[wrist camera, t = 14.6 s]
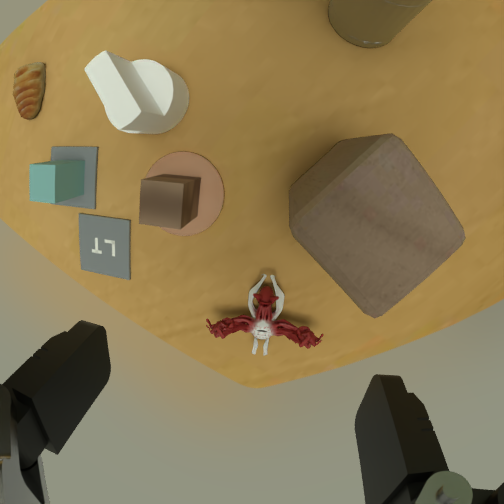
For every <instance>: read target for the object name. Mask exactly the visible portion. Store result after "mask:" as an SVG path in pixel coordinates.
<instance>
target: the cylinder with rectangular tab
mask: <svg viewBox="0 0 504 504" xmlns="http://www.w3.org/2000/svg"><path fill="white" fill-rule="evenodd" d="M85 71H86V73H87V75H88V77H89V79H90V81H91V82H92V84H93V86H94V88H95V90H96V92H97V93H98V95H99V97H100V99H101V101H102V102H103V104H104V106H105V111H106V114H107V116H108V119H109V120H110V121H111V123H112V124H113V125H114V126H115V127H116V128H117V129H118V130H121V131H124V132H127V133H141V134H160V133H164V132H167V131H169V130H170V129H172V128H174V127H175V126H176V125H177V124H178V123H179V122H180V121H181V120H182V118H183V117H184V115H185V113H186V111H187V108H188V104H189V92H188V88H187V85H186V83H185V81H184V80H183V79H182V78H181V77H180V76H179V75H178V74H176V73H174V72H173V71H171V70H169V69H168V68H166V67H164V66H163V65H161V64H159V63H157V62H156V61H152V60H148V59H142V60H136V61H133V62H130V61H128V60H126V59H124V58H122V57H119V56H117V55H115V54H113V53H110V52H108V51H106V50H105V51H103V52H101V53H100V54H99V55H97V56H96V57H94V58H93V59H92V60H91V62H90V63H89V64H88V65H87V66H86V67H85Z"/></svg>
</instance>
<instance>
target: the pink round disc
mask: <svg viewBox="0 0 504 504" xmlns="http://www.w3.org/2000/svg"><path fill="white" fill-rule="evenodd" d="M161 174H172V175H182V176H192V177H201V184H200V194H199V205H198V216H197V217H196V218H195V219H193V220H192V221H191V222H189V223H188V224H187V225H186V226H184V227H183V228H182V229H181V230H180V229H173V228H166V227H160V228H161V229H163V230H165V231H166V232H168V233H171V234H174V235H179V236H190V235H194V234H197V233H200V232H202V231H204V230H205V229H207V228H208V227H209V226H210V225H212V224H213V222H214V221H215V220H216V219H217V217H218V216H219V214H220V212H221V210H222V207H223V203H224V186H223V182H222V179H221V176H220V174H219V172H218V171H217V169H216V168H215V167H214V166H213V164H212V163H211V162H209V161H208V160H207V159H206V158H204V157H202V156H200V155H198V154H195V153H192V152H174V153H171V154H168V155H166V156H164V157H162V158H160V159H159V160H158V161H157V162H156V163H155V164H154V165H153V166H152V167H151V168H150V170H149V172H148V173H147V176H146V178H149V177H153V176H157V175H161Z"/></svg>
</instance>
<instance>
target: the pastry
mask: <svg viewBox="0 0 504 504" xmlns="http://www.w3.org/2000/svg"><path fill="white" fill-rule="evenodd" d="M14 78H15V80H14V87H13V88H14V91H13V96H14V98H15V102H16V104H17V108H18V111H19V113H20V115H21V117H23V118H24V119H28V120H30V119H33V118H34V117H35V116H36V115H37V113H38V112H39V110H40V108H41V101H42V98H43V95H44V92H45V88H44V87H45V66H44V63H42V62H37V63H33V64H28V65H25V66H22V67H20V68H19V69H18V70H17V71H16V72H15V74H14Z"/></svg>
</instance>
